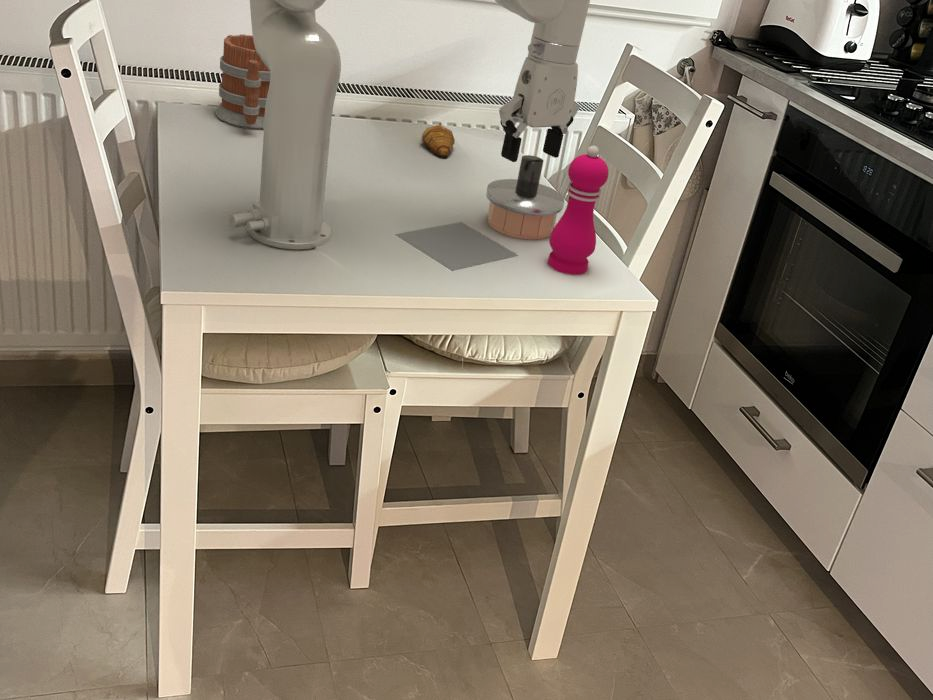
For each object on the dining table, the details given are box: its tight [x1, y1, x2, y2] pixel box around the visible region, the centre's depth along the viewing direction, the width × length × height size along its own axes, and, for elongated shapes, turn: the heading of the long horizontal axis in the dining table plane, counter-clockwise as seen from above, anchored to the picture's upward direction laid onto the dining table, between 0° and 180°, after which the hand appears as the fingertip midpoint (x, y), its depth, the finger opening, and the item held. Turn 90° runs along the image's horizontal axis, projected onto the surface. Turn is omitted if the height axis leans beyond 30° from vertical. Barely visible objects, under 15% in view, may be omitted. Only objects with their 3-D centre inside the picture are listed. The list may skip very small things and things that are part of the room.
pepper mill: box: [547, 145, 609, 276], centre depth 153 cm, size 7×7×20 cm
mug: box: [215, 34, 271, 130], centre depth 192 cm, size 14×19×15 cm
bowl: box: [487, 200, 558, 241], centre depth 168 cm, size 11×11×5 cm
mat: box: [395, 221, 519, 272], centre depth 158 cm, size 14×14×1 cm
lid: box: [485, 154, 565, 216], centre depth 165 cm, size 13×13×7 cm
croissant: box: [421, 124, 455, 159], centre depth 199 cm, size 14×7×5 cm, turn 14°
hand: (529, 156), depth 163 cm, fingers open, 9 cm apart
